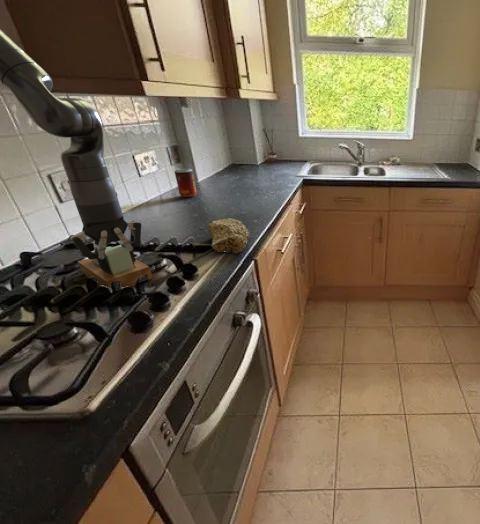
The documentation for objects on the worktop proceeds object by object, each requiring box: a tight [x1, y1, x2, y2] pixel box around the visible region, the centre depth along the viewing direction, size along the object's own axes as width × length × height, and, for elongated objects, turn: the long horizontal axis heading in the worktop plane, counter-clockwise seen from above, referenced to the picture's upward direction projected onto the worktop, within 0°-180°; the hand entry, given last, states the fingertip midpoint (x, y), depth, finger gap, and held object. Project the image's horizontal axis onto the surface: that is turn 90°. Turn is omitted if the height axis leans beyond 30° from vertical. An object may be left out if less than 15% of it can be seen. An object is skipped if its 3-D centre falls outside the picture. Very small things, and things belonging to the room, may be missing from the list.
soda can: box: [174, 167, 198, 198], centre depth 148 cm, size 7×7×12 cm
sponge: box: [207, 218, 250, 254], centre depth 103 cm, size 13×8×20 cm
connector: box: [77, 258, 153, 288], centre depth 83 cm, size 9×16×4 cm, turn 56°
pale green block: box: [105, 244, 134, 275], centre depth 79 cm, size 4×4×6 cm
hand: (119, 267), depth 80 cm, fingers closed on pale green block, 4 cm apart
